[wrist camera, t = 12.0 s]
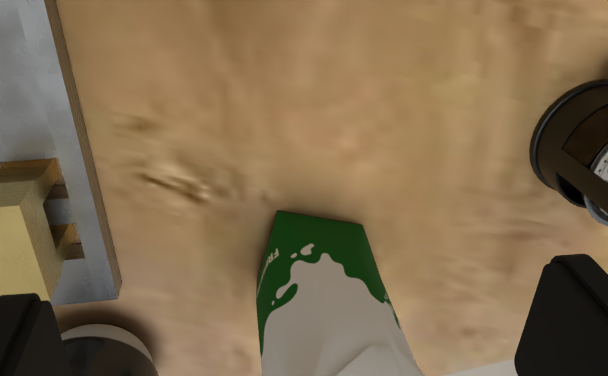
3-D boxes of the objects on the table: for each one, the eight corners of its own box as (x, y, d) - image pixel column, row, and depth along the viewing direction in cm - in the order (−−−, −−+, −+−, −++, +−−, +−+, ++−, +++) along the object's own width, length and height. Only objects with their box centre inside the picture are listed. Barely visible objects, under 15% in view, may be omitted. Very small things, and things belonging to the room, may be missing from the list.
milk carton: (268, 198, 40) (305, 430, 23) (378, 217, 42) (488, 442, 25) (243, 288, 44) (257, 546, 26) (345, 301, 46) (420, 547, 29)
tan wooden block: (6, 156, 36) (-38, 210, 30) (53, 152, 36) (19, 205, 30) (34, 241, 39) (-1, 305, 33) (76, 238, 39) (50, 300, 33)
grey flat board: (-124, -86, 28) (-147, -85, 26) (33, -90, 29) (22, -89, 27) (15, 293, 41) (6, 310, 39) (121, 282, 42) (117, 299, 40)
